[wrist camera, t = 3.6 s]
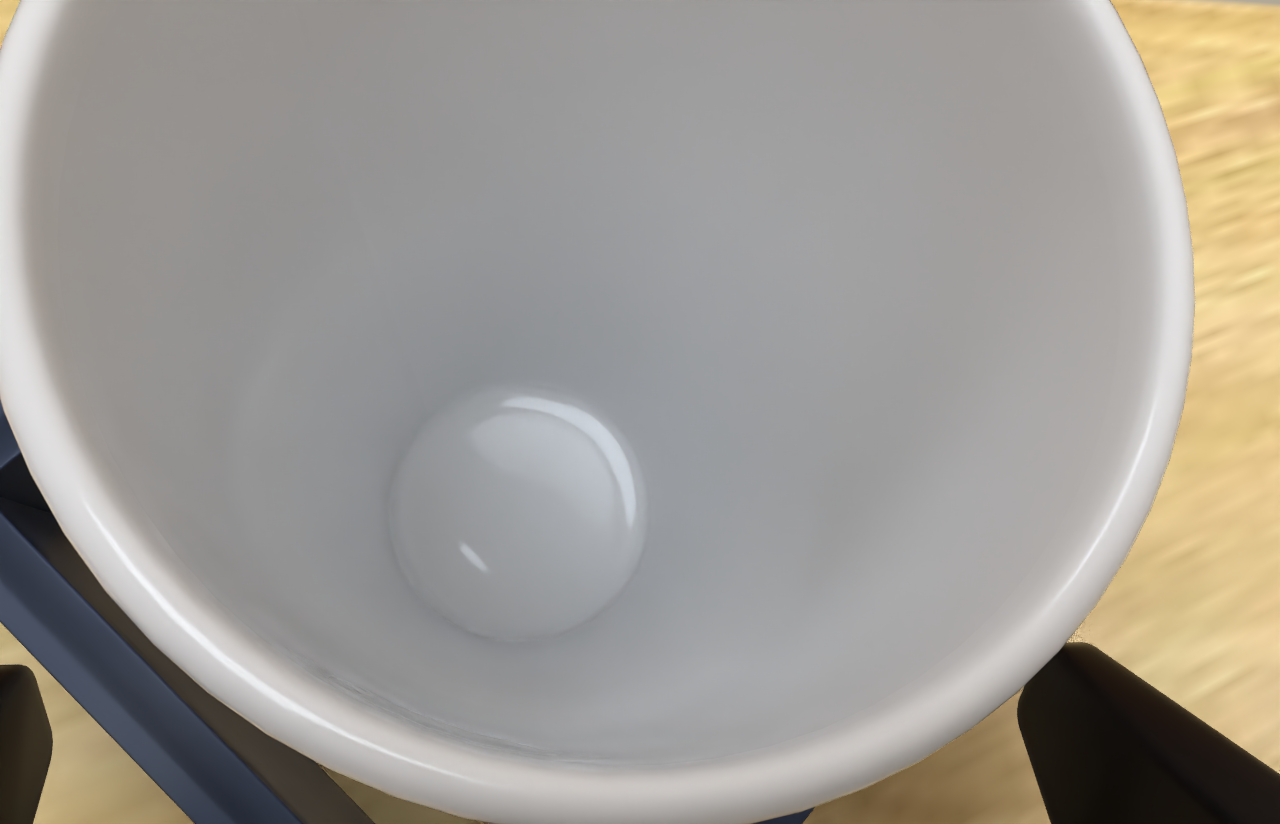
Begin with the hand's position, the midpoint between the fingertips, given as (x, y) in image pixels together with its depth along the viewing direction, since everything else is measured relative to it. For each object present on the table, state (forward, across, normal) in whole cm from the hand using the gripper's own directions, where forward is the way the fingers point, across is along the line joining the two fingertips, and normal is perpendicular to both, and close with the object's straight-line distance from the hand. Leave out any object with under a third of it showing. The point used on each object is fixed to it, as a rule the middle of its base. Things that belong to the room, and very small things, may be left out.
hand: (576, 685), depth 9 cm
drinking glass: (+10, 0, +6) cm, 11 cm away
